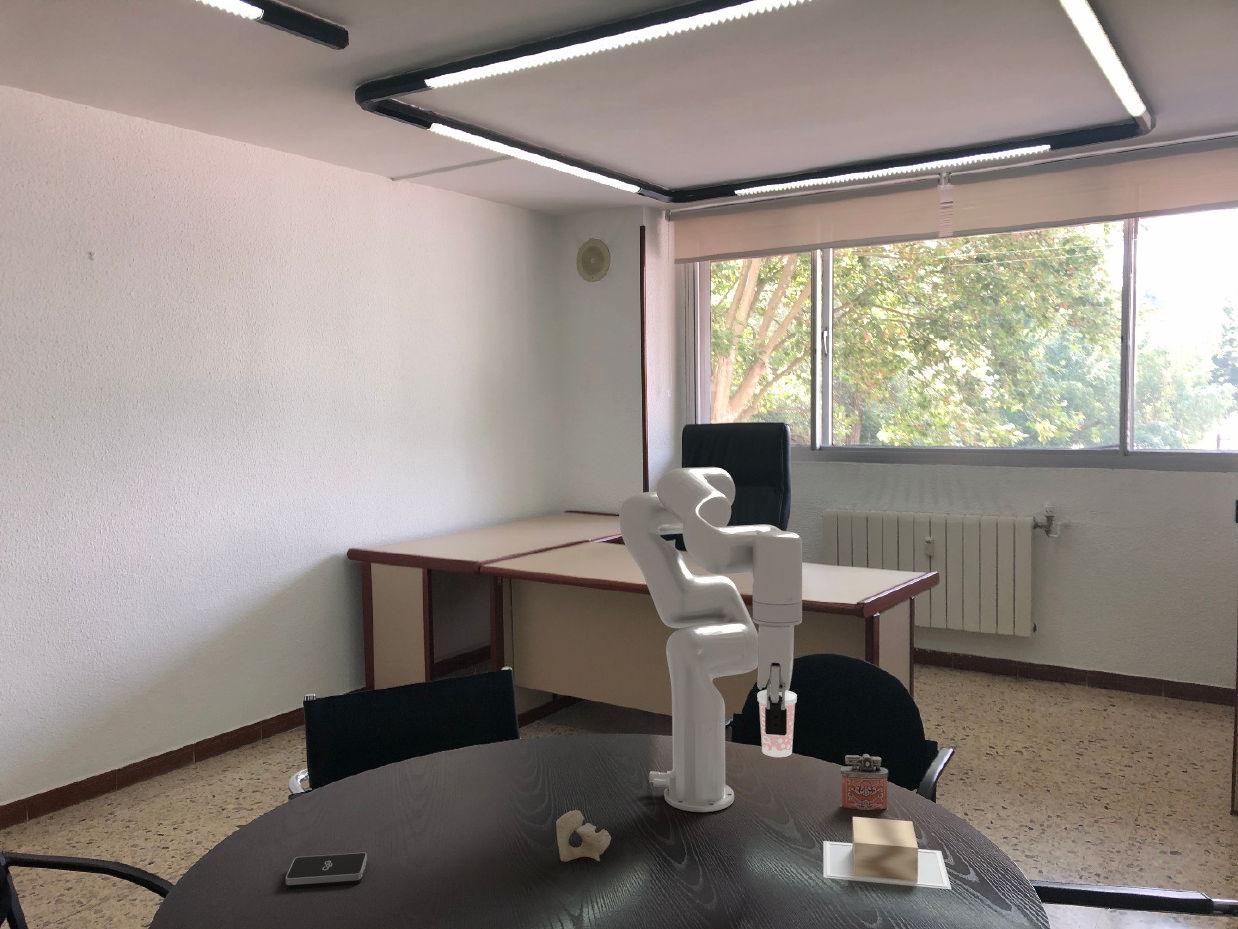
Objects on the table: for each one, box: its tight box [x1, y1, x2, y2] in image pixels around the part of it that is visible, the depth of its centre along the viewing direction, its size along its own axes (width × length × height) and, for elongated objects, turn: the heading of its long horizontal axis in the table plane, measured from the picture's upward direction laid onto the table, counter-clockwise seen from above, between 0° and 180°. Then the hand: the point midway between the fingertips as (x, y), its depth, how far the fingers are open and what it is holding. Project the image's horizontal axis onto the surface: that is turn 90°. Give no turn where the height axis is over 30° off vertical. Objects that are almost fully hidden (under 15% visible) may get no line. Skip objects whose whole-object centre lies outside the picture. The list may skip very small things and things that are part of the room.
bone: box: [555, 809, 612, 863], centre depth 147 cm, size 9×6×10 cm
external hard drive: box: [285, 852, 368, 890], centre depth 142 cm, size 7×11×2 cm, turn 97°
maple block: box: [852, 816, 919, 881], centre depth 142 cm, size 9×9×5 cm
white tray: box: [822, 840, 952, 891], centre depth 142 cm, size 18×12×1 cm, turn 78°
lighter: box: [840, 753, 889, 811], centre depth 162 cm, size 8×3×10 cm, turn 84°
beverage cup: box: [756, 689, 798, 758], centre depth 144 cm, size 6×6×14 cm
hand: (777, 725), depth 144 cm, fingers closed on beverage cup, 6 cm apart
